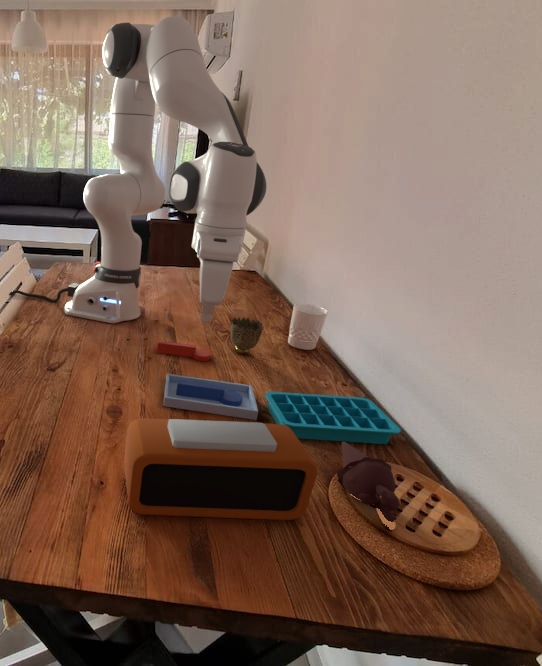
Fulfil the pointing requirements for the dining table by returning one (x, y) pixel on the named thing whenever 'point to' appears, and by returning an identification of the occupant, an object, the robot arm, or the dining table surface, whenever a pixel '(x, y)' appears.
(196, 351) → the red spoon
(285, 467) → the alarm clock
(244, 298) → the dining table surface
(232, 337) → the cup
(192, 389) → the blue spoon
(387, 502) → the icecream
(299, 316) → the white cup
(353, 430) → the ice cube tray
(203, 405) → the blue tray
